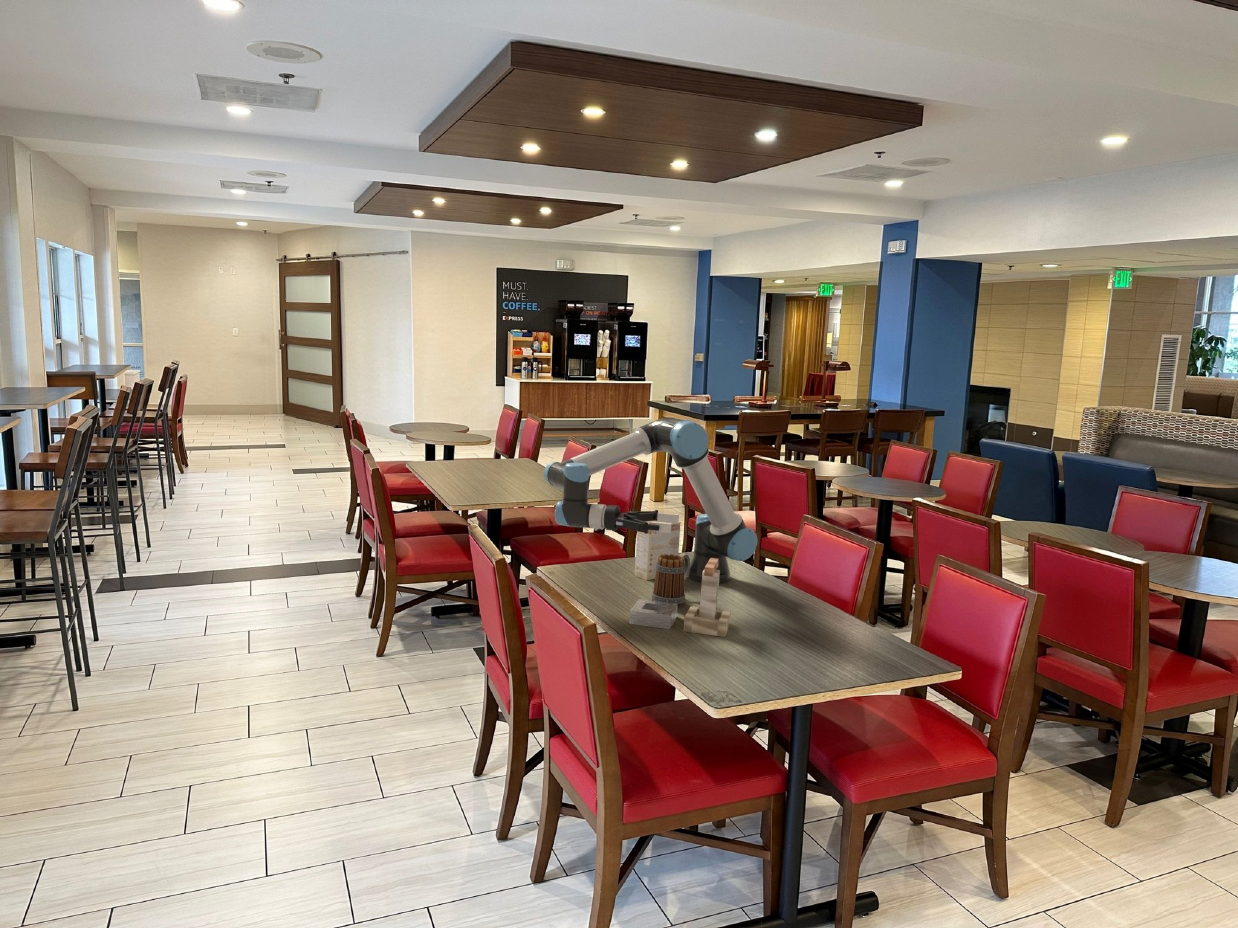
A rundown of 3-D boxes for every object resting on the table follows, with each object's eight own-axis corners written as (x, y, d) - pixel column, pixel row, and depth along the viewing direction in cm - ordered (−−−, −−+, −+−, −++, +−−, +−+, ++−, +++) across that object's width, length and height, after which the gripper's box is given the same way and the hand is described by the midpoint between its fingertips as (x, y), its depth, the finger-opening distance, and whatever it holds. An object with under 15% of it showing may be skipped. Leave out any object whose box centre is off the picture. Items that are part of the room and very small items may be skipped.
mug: (672, 610, 257) (676, 563, 255) (644, 602, 264) (647, 556, 261) (699, 600, 270) (702, 555, 268) (672, 592, 276) (675, 548, 274)
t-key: (702, 620, 249) (707, 557, 247) (717, 622, 248) (722, 559, 246) (696, 632, 238) (701, 566, 235) (711, 634, 237) (716, 568, 234)
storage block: (689, 618, 250) (690, 605, 250) (729, 623, 248) (730, 610, 247) (683, 631, 239) (684, 617, 238) (725, 636, 236) (726, 623, 235)
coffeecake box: (664, 570, 304) (668, 518, 301) (677, 575, 298) (681, 521, 295) (633, 575, 294) (636, 521, 291) (646, 580, 289) (650, 525, 286)
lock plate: (638, 611, 254) (638, 598, 253) (676, 616, 251) (677, 604, 251) (629, 623, 242) (630, 610, 242) (669, 629, 240) (670, 615, 239)
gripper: (614, 521, 265) (680, 527, 260) (594, 538, 241) (666, 545, 236) (615, 498, 264) (682, 503, 259) (595, 513, 240) (668, 519, 235)
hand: (675, 523), depth 247 cm, fingers open, 13 cm apart
